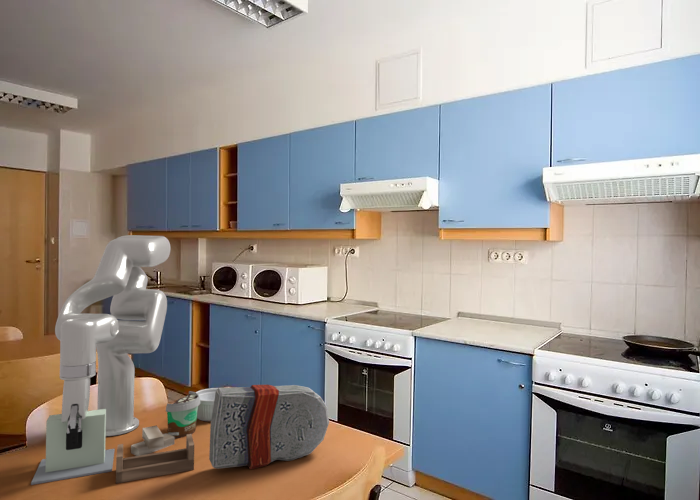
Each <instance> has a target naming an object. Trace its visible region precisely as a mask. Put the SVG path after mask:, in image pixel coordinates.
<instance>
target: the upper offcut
mask: <svg viewBox="0 0 700 500" xmlns="http://www.w3.org/2000/svg"><path fill="white" fill-rule="evenodd" d="M163 434H164V433H163V432H162V431H161V430H160V428H159V427H158V425H151V426H146V427H142V439H143V441H145V443H146V445H147V447H148V449H151V448H156V447H160V446H164V436H163Z"/></svg>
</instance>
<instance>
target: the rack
mask: <svg viewBox="0 0 700 500" xmlns="http://www.w3.org/2000/svg"><path fill="white" fill-rule="evenodd" d="M185 438H186V439H185V440H186V441H185V443H186V444H185V445H186V446H185V448H178V449H173V450H168V451H167V450H166V451H161V452H152V453H150V454H147V455H140V456H135V455H134V456H129V457H124V443H120V444H117V447H116V457H115V458H116V460H115V461H116V462H115V484H121V483H127V482H132V481H137V480H143V479H149V478H154V477H160V476H165V475H171V474H178V473H183V472H188V471H193V470H195V442H194V439H193V434H187V435H186V436H185Z"/></svg>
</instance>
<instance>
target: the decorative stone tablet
mask: <svg viewBox="0 0 700 500" xmlns="http://www.w3.org/2000/svg"><path fill="white" fill-rule="evenodd" d="M217 388H218V389H217V390H216V393H215V399H214V406H213V412H212V419H211V421H210V428H209V455H208V456H209V459H208V460H209V461H210V464H211V467H212V468H214V469H217V470H218V469H226V468H235V467H236V468H237V467H243V466H244V467H245V466H247V467H248V468H249V470H254V469H258V468H262V467H267V466H268V465H269V464H271V463H273V462H274V461H294V460H297V459H299V458H303V457H304V456H308V455H310V454H312V453H313V452H314V451H315V449H316V448H318V446H319V445H320V444H322V442H323V441H324V439H325V436H326V434H327V431H328V427H329V425H330V419H329V411H328V405H326V403H325V401H324V400H323V398H322V397H321V396H320V395H319V394H318V393H316V392H315V391H314V390H313V389H311V388H310V387H307V386H301V385H296V384H292V385H272V384H271V385H270V384H252V385H251V386H246V387H245V386H240V387H239V386H238V387H236V386H235V387H217Z"/></svg>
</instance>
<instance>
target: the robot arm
mask: <svg viewBox="0 0 700 500" xmlns="http://www.w3.org/2000/svg"><path fill="white" fill-rule="evenodd" d="M170 254H171V244H170V241H169V239H168V237H165V236H164V235H138V234H137V235H135V234H134V235H133V234H132V235H122V236H118V237H116V238H115V239H112V240H110V241H108V243H107V244H106V246H105V248H104V251H103V254H102V256H101V259H100V261H99V264H98V266H97V269H96V272H95V274H94V277H92V279H91V280H89V281H87V282H85V284H83V285H81V286H80V287H79V288H78V289H76V290H75V291H73V292H72V293H71V294H70V295H69V296H68V297H67V299H66V300H65V301H64V303H63V305H62V307H61V310H60V311H59V314H58V317H57V318H56V322H55V326H54V334H55V338H57V340H59V341H60V347H59V348H60V349H59V357H60V358H59V379H60V380H62V381H63V389H62V390H63V391H62V399H61V400H62V402H61V403H62V404H61V414H62V417H61V422H63V423H65V421H67V420H68V425H67V432H66V450H72V449H79V448H81V447H82V430H81V425H82V420H84V419H85V417H86V415H87V411H89V407H90V406H89V405H90V395H91V378H93V377H94V376H96V375H97V409H96V410H100V409H106V436H105V437H112V436H120V435H125V434H127V433H130V432H132V431H134V430H136V429H137V428H138V427H139V425H140V420H139V418H137V417H135V415H134V413H135V370H136V369H135V365H134V362H133V360H132V359H131V357H130V356H129V354H150V353H153V352H155V351H156V350H157V349H158V347H159V345H160V343H161V338H162V334H163V329H164V324H165V320H166V315H167V310H168V299H167V296H166V294H165V293H164V291H162V290H160V289H154V288H153V289H152V288H151V289H150V288H149V289H148V288H147V286H148V281H149V279H148V276H147V274H146V272H145V271H144V270H143V268H151V267H156V266H158V265H160V264H163V263H165V262H166V261H167V260H168V258H170ZM142 267H143V268H142ZM110 297H112V299H111V303H110V308H109V309H110V314H108V313H82V312H83V311H84V310H85V309H86V308H88V307H90V306H91V305H92V304H95V303H97V302H100V301H103V300H105V299H108V298H110ZM97 363H98V365H97ZM97 367H98V369H97ZM77 417H80V418H77ZM76 422H79V424H78V423H76Z"/></svg>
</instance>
